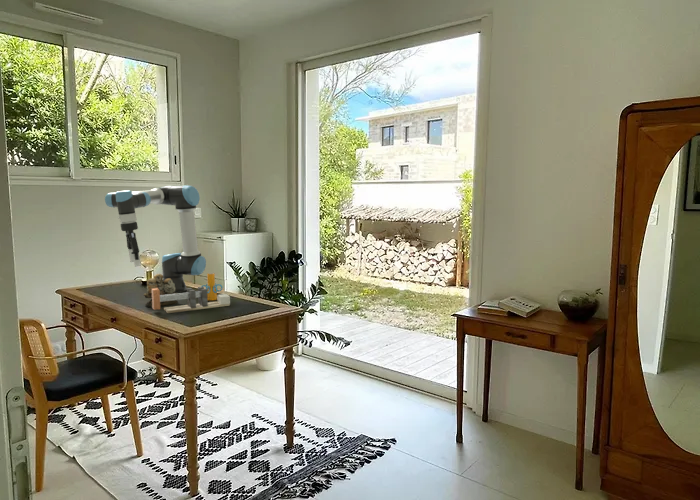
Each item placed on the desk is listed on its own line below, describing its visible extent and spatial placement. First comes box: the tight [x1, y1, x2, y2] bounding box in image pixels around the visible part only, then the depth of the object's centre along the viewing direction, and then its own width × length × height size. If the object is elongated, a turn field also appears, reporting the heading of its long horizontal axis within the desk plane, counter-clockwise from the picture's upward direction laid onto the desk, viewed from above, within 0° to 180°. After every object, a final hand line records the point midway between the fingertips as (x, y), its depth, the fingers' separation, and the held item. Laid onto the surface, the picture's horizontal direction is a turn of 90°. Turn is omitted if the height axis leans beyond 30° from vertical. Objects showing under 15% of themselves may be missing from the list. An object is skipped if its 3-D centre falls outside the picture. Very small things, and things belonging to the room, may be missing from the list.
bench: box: [163, 286, 231, 314], centre depth 253 cm, size 9×32×10 cm, turn 122°
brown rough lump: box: [143, 273, 179, 309], centre depth 259 cm, size 18×12×17 cm, turn 134°
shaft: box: [151, 288, 202, 311], centre depth 247 cm, size 4×24×10 cm, turn 122°
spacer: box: [216, 293, 231, 305], centre depth 260 cm, size 7×5×4 cm
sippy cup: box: [200, 272, 223, 302], centre depth 272 cm, size 12×10×15 cm
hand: (135, 263), depth 241 cm, fingers open, 13 cm apart
